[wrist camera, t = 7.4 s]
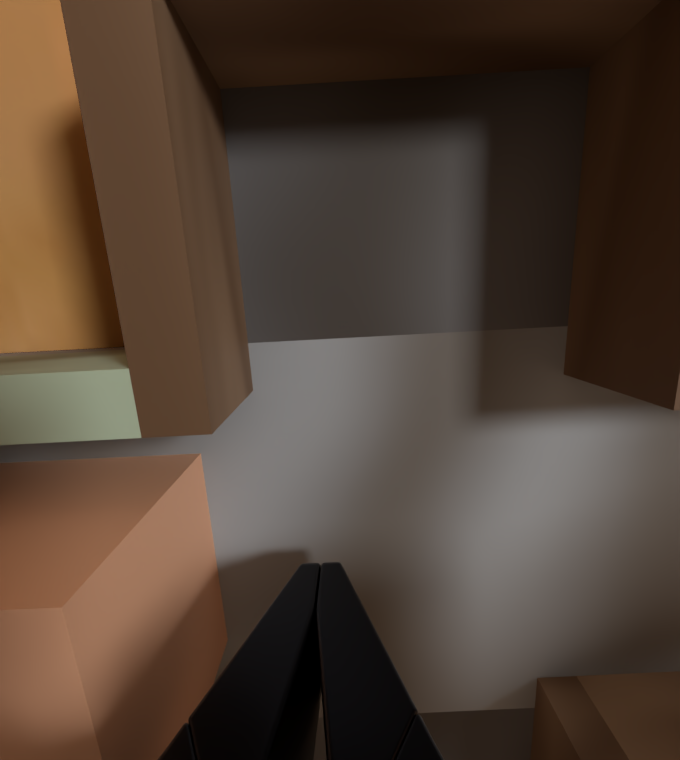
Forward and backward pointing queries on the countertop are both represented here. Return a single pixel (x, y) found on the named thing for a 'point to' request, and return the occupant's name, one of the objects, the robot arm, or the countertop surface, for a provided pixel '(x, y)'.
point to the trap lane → (404, 334)
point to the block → (105, 606)
